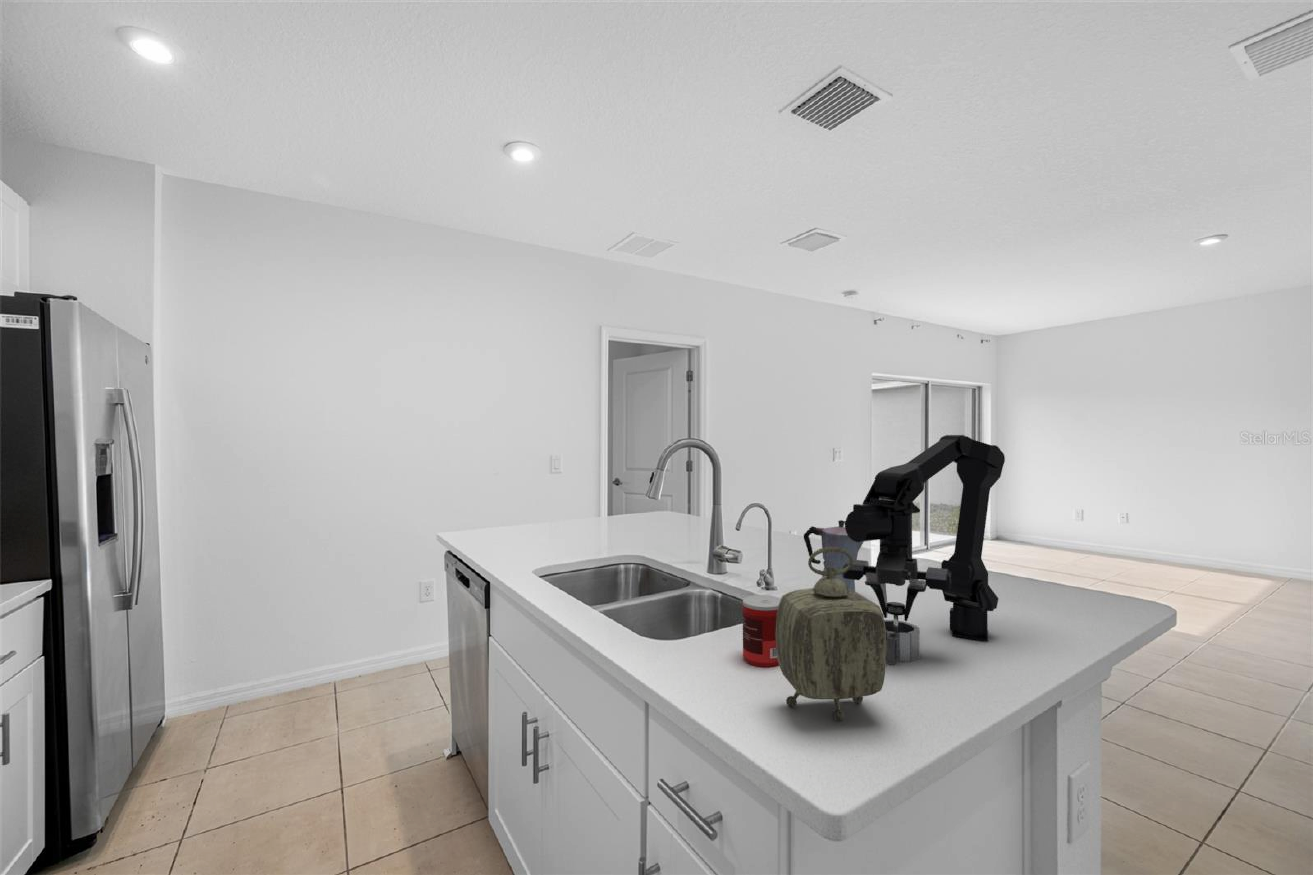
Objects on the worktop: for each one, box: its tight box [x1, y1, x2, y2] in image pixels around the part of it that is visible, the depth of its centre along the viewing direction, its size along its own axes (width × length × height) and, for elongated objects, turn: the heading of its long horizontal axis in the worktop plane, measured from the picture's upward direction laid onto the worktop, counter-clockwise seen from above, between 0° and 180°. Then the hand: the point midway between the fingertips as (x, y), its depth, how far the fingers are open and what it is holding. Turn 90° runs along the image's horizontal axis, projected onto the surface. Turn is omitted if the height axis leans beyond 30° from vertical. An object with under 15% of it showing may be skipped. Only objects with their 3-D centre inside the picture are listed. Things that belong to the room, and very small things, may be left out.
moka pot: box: [803, 519, 864, 592], centre depth 146 cm, size 10×15×20 cm, turn 78°
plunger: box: [887, 601, 906, 633], centre depth 111 cm, size 5×5×8 cm
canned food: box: [742, 594, 782, 668], centre depth 108 cm, size 8×8×11 cm
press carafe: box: [884, 619, 921, 666], centre depth 110 cm, size 8×11×5 cm
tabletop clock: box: [775, 547, 887, 722], centre depth 87 cm, size 14×9×25 cm, turn 97°
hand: (895, 619), depth 111 cm, fingers closed on plunger, 3 cm apart
